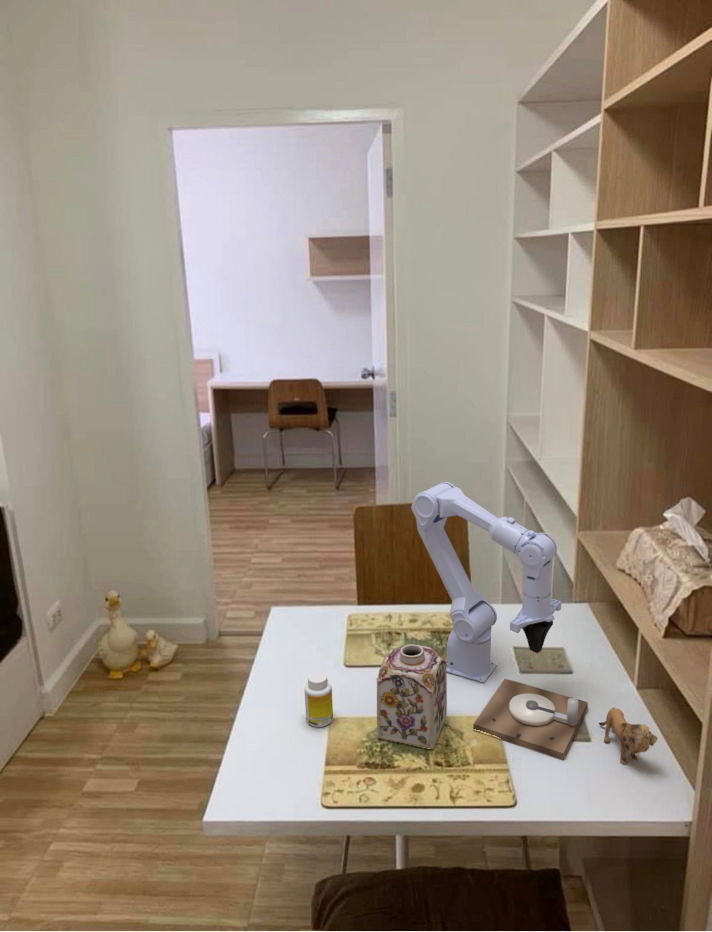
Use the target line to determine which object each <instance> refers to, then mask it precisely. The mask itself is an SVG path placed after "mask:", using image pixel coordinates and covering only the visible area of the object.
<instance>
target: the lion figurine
mask: <svg viewBox="0 0 712 932" xmlns="http://www.w3.org/2000/svg"><path fill="white" fill-rule="evenodd" d="M598 725H599V726H600V727H604V726H605V727H606V728H605V730H604V731H605V732H604V737H603V742H604V743H605V744H610V743H611V740H610V731H611V732H612V733H614V735H615V736H616V738H617V740H618V741H619V744H620V745H619V746H620V748H619V749H620V758H619V763H620V764H621V765H625V766H626V765H627V764H628V762H627V760H628V759H627V751H628V752H629V754H630V755H629V756H630V758H631V760H632V761H638V760H639V756H638V755H637V754H639V753H646V752H647V751H648V750H649V749H650V746H651V747H653V746H654V745H655V744H656V743H657V741H658V739H659V738H658V736H657V735H655V734H653V733H652V731H650V727H649V726H647V725H646V724H645V723H644V724H641V723H637V724H636V723H635V724H632V723H628V722H627V721H626V719H625V716H624V712H623V711H622V709H620V708H618V707H617V708H616V707H611V708H610V709H609V710H608V712H607V715H606V719H605V721H603V722H602V721H601V722H598Z"/></svg>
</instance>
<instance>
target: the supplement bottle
mask: <svg viewBox="0 0 712 932" xmlns="http://www.w3.org/2000/svg"><path fill="white" fill-rule="evenodd" d="M332 688H333V687H332V684H331V682H330V681H329V680H328V675H327V673H325V672H323V671H314V672H312V673H310V674H309V675H308V676H307V683H305V685H304V702H305V717H306V721H307V723H308V724H309V725H310V726H312V727H315V728H316V727H317V728H322V727H326V726H327V725H329V724H331V723H332V721H333V719H334V718H333V717H334V709H333V708H334V706H333V691H332V690H333V689H332Z"/></svg>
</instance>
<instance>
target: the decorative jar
mask: <svg viewBox="0 0 712 932" xmlns="http://www.w3.org/2000/svg"><path fill="white" fill-rule="evenodd" d="M446 668H447V659H445V658H444V656H442V655H441V654H440V653H438V652H437V651H435V650H434V649H433V648H432V647H430V646H425V645H420V644H413V643H412V644H411V643H410V644H405V645H401V646H397V647H395V648H394V647H393V648H391V649H389V650H388V651H387V652H386V654H385V655H384V656H383V659H382V661H381V665H380V668H379V670H378V675H377V678H376V725H377V726H376V727H377V728H376V729H377V730H376V731H377V738H378V739H379V738H381V739H380V740H382V739H385V740H384V741H388V740H391V741H390V742H392V741H395V742H394V743H397V742H401V743H406V744H410V745H416V746H419V747H425V748H430V749H433V748H435V746H436V743H437V741H438V739H439V737H440V734H441V731H442V728H443V727H444V726H443V725H444V723H445V720H446V717H447V712H448V711H447V709H448V708H447V707H448V695H447V694H448V689H447V688H448V687H447V679H448V678H447V677H448V676H447V673H448V672H447V670H446ZM401 743H400V744H401ZM406 744H405V745H406ZM410 745H409V746H410ZM419 747H418V748H419ZM433 750H434V749H433Z"/></svg>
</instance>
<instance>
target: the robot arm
mask: <svg viewBox="0 0 712 932" xmlns="http://www.w3.org/2000/svg"><path fill="white" fill-rule="evenodd" d="M411 511H412V513H413V515H414V517H415V522H416V528H417V532H418V533H419V536H420V539H421V540H422V542H423V545H424V546H425V548H426V550H427V553H428V555H429V557H430V559H431V561H432V562H433V564H434V567H435V569H436V571H437V573H438V575H439V577H440V579H441V581H442V583H443V585H444V588H445V589H446V592H447V593H448V596H449V597H450V599H451V606H450V609H449V617H450V619H451V622H452V629H451V631H450V632H449V635H448V638H447V642H446V662H447V663H446V666H447V667H446V670H447V673H449V674H452V675H455V676H458V677H463V678H465V679H466V678H467V679H469V680H473V681H476V682H479V683H486V681H487V679H488V678H489V677H490V676H491V674H492V672H493V671H494V670H495V669H496V668H497V663H495V662H491V655H492V654H491V651H492V648H491V647H492V642H491V641H492V627H493V626H494V625H495V624H496V622H497V620H498V615H497V611H496V609H495V608H494V606H493V605H492V604H491V603H490V602H489V601H488V600H487V598H486V597H485V595H484V594H483V593H481V592H479V591H477V590H475V589H474V587H473V585H472V583H471V581H470V579H469V576H468V575H467V573H466V571H465V569H464V567H463V565H462V562H461V561H460V559H459V557H458V554H457V553H456V550H455V549H454V547H453V544H452V542H451V541H450V539H449V536H448V533H447V532H446V530H445V528H444V527H445V525H446V522H447V519H448V517H454V516H455V517H456V516H459V517H460V518H462V519H464V520H466V521H468V522H469V523H472V524H473V525H475V526H477V527H480V528H481V529H483V530H485V531H487V532H488V533H489V536H490V539H491V540H492V541H493V542H495V543H496V544H498V545H499V546H501V547H503V548H505V549H506V550H508V551H510V553H513V554H514V555H516V556H517V558H518V561H519V562H520V564H521V566H522V601H521V602H522V608H521V609H520V611H519V612H518V613H517V614H516V616H515V617H514V618H513V619H512V620H510V621H509V630H510V631H512V632H514V633H516V634H519V633H521V630H523V633H524V634H525V635H524V636H525V637H526V640H527V644H528V648H529V651H532V652H533V653H535V654H539V653H541V652H542V650H543V646H544V642H545V641H546V637H547V635H548V633H549V631H550V630H551V628H552V627H553V625H554V620H555V615H554V614H555V612H559V611H561V610H562V601H561V600H557V599H555V598H552V573H553V572H552V565H553V561H552V560H553V558H554V557H555V556H556V554H557V551H558V548H557V547H558V546H557V543H556V541H555V539H553V538H552V536H550V535H549V534H548V533H545V532H536V531H534V530H531V529H528V528H526V527H524V526H523V525H521V524H519V523H518V522H516V519H515V518H514V517H507V516H502V517H497V516H495V514H492V513H491V512H489V511H488V510H487V509H485V508H484V507H483V506H480V505H479V504H478V503H476V502H475V501H474V500H472V499H471V498H469V497H468V496H466V495H465V494H464V492H463V491H462V489H461V488H459V487H457V486H455V485H454V484H452V483H451V482H448V481H441V482H439V483H438V484H436V485H434V486H432V487H429V488H428V489H426V490H424V491H421V492H418V493H417V494H416V495H415V496H414V499H413V501H412V504H411Z"/></svg>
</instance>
